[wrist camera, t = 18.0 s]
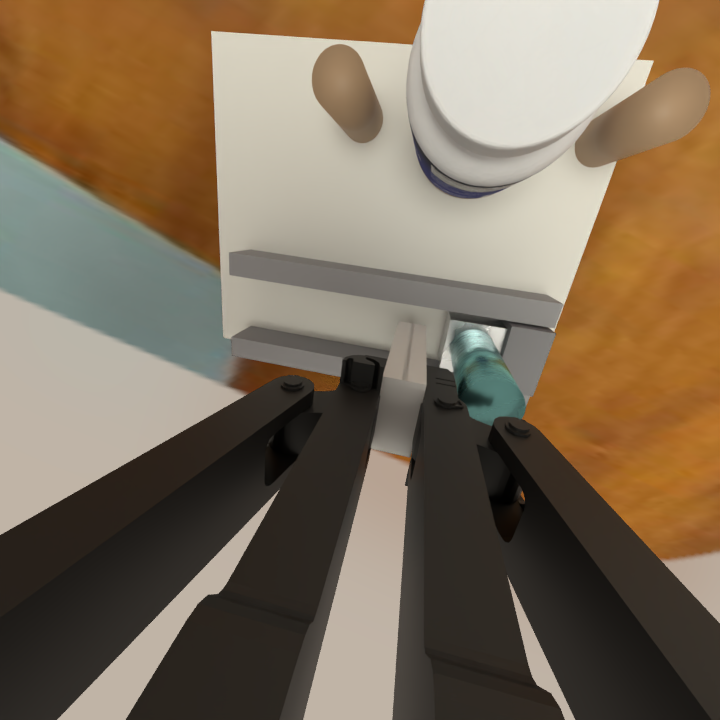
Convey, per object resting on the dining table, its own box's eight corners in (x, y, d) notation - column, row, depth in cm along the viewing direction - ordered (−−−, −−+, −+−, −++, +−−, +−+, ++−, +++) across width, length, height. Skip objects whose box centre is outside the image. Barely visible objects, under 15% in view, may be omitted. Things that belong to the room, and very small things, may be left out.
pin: (437, 354, 20) (443, 431, 13) (448, 308, 19) (461, 364, 12) (485, 362, 20) (520, 448, 12) (498, 317, 19) (546, 379, 11)
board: (232, 332, 24) (171, 365, 18) (224, 43, 18) (128, -44, 12) (525, 387, 21) (560, 445, 16) (637, 72, 15) (762, -19, 9)
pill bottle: (431, 49, 15) (437, -213, 6) (561, 69, 15) (781, -189, 6) (402, 189, 17) (374, 149, 8) (513, 211, 17) (612, 193, 8)
